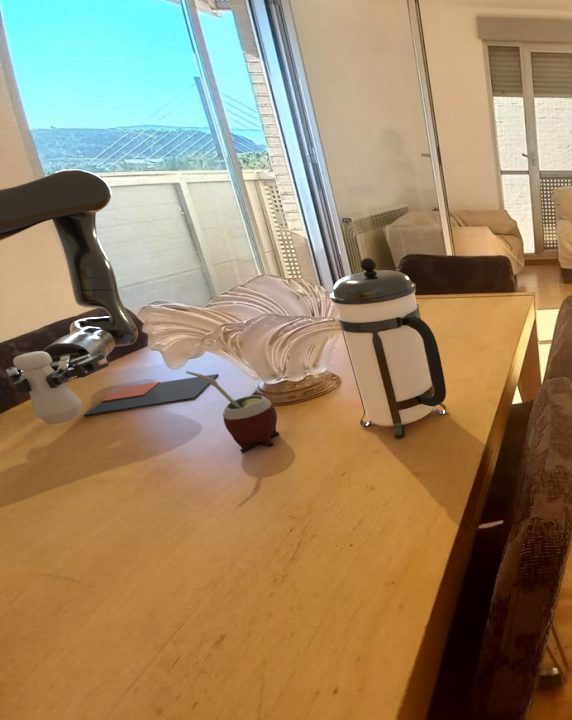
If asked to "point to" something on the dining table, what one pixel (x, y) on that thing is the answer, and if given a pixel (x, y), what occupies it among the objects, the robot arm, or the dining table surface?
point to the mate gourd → (248, 419)
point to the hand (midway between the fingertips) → (36, 385)
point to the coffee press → (389, 347)
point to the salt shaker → (47, 390)
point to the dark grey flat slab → (151, 395)
